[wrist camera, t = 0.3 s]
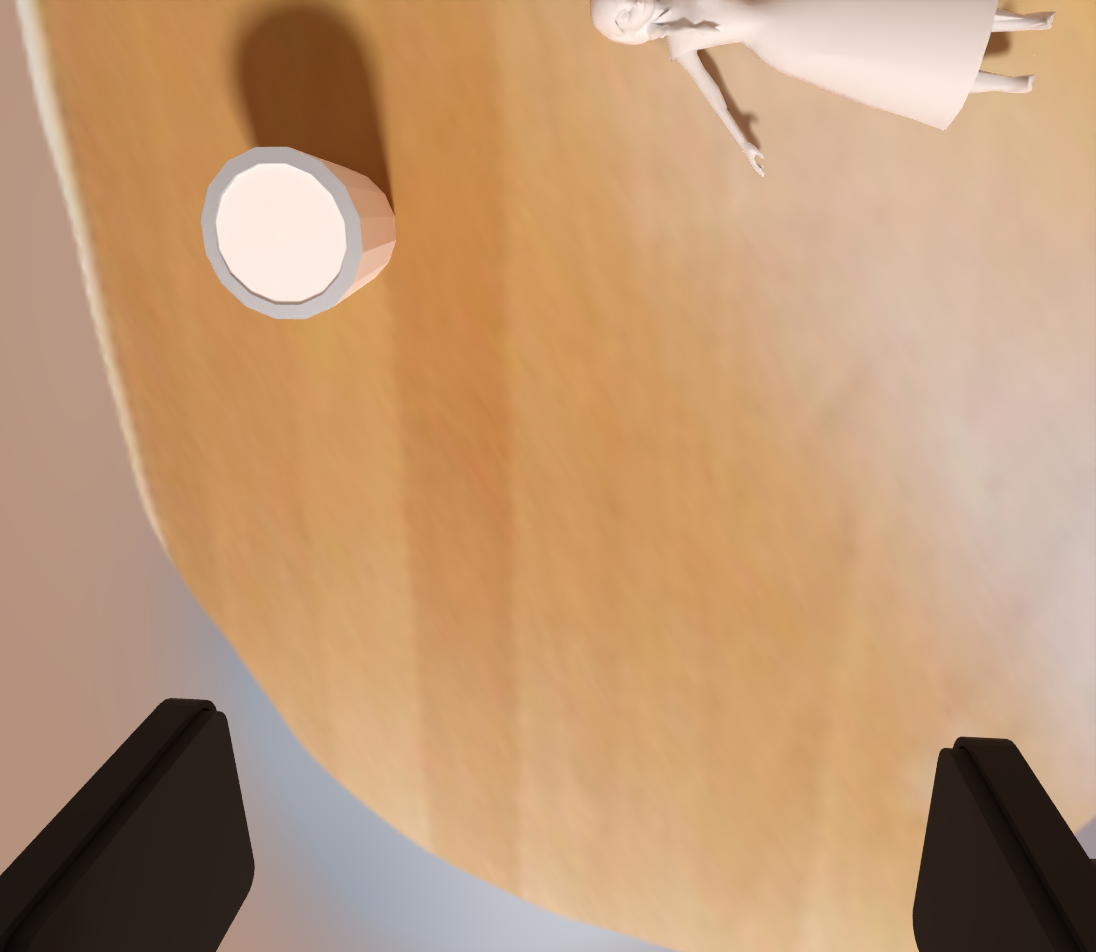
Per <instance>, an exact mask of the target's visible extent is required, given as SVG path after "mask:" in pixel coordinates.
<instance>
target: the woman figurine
mask: <svg viewBox="0 0 1096 952" xmlns="http://www.w3.org/2000/svg"><path fill="white" fill-rule="evenodd" d="M998 1H999V0H751V1H749V0H591V2H590V13H591V19H592V23H593V24H594V26H595V27H596V28H597V30H598V31H599V32H601V33H602V34H603V35H604V36H606V37H607V38H608V39H610V40H612V41H615V42H618V43H622V44H628V45H635V44H642V43H644V42H646V41H648V40H655V39H656V38H658V37H660V38H663V37H665V36H666V41H667V45H668V49H669V53H670V58H671V61H673V60H675V59H676V60H677V61H678V62H679V64H680V65H681V66H682V67H683V68H684V69H685V70H686V71H687V72H688V73H689V74H690V75H691V77H692V78H693V79H694V81H695V82H696V84H697V85H698V87H699V88H700V90H701V91H702V93H703V94H704V96H705V97H706V99H707V100H708V102H709V103H710V105H711V106H712V108H713V109H714V110H715V111H716V113H717V114H718V115H719V117H720V118H721V119H722V121H723V122H724V124H725V125H726V127H727V128H728V130H729V131H730V133H731V134H732V136H733V137H734V139H735V140H736V142H737V144H738V145H739V147H740V148H741V150H742V151H743V152H744V154H745V155H746V157H747V158H748V160H749V161H750V163H751V164H752V166H753V167H754V169H755V170H756V171H757V172H758V173H759V174H760V175H762V176H764V172H763V171H762V170H761V169H760V168H764V166H762V165H758V163H757V162H756V161H755V154H757V155H759V156H760V157H761V158H762V159H763V158H764V155H763V154H762V153H760V152H759V150H758V149H757V148H756V147H755V146H754V145H753V144H751V143H748V142H747V141H746V140H745V138H744V136H743V135H742V133H741V131H740V130H739V128H738V126H737V125H736V123H735V121H734V120H733V118H732V116H731V115H730V113H729V112H728V108H727V105H726V103H725V101H724V98H723V96H722V94H721V91H720V89H719V87H718V85H717V84H716V83H715V82H714V80H713V79H712V78H711V76H710V75H709V74H708V72H707V71H706V70H705V68H704V66H703V65H702V63H701V61H700V59H699V57H698V55H697V50H700V49H705V48H710V47H713V46H717V45H723V44H730V43H736V42H741V43H743V44H744V45H745V46H746V47H748V48H749V49H750V50H751V51H752V52H753V53H754V54H755V55H756V56H757V57H758V58H759V59H760V60H761V61H762V62H763V63H765V64H767V65H769V66H770V67H772V68H774V69H776V70H777V71H779V72H781V73H783V74H786V75H788V76H791V77H793V78H796V79H798V80H801V81H803V82H806V83H809V84H811V85H814V86H816V87H819V88H821V89H824V90H826V91H829V92H831V93H834V94H837V95H839V96H842V97H844V98H847V99H849V100H852V101H854V102H857V103H860V104H862V105H865V106H869V107H873V108H877V109H880V110H884V111H888V112H891V113H895V114H898V115H902V116H905V117H908V118H911V119H914V120H916V121H919V122H922V123H925V124H927V125H930V126H933V127H936V128H938V129H941V130H944V131H945V130H946V128H947V127H948V126H949V124H950V123H951V122H952V120H953V119H954V118H955V116H956V115H957V114H958V112H959V111H960V110H961V108H962V106H963V104H964V102H965V100H966V98H967V96H968V94H969V93H978V92H990V91H1002V92H1007V93H1028V92H1029V91H1031V90H1032V88H1033V85H1034V81H1035V78H1036V75H1027V76H1018V77H1011V76H1003V75H999V74H995V73H990V72H986V71H982V70H979V68H980V65H981V62H982V59H983V56H984V53H985V50H986V47H987V44H988V41H989V38H990V34H991V32H1004V31H1021V30H1047V29H1049V28H1051V26H1052V23H1053V20H1054V17H1055V14H1056V12H1038V13H1031V14H1027V15H1021V14H1018V13H1014V12H1010V11H1006V10H1002V9H999V8H997V5H998ZM759 167H760V168H759Z"/></svg>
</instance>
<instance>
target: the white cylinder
mask: <svg viewBox="0 0 1096 952" xmlns="http://www.w3.org/2000/svg"><path fill="white" fill-rule="evenodd" d="M201 225H202V232H203V239H204V246H205V253H206V255H207V257H208V258H209V260H210V262H211V264H212V266H213V268H214V270H215V272H216V274H217V276H218V278H219V280H220V282H221V283H222V284H223V285H224V286H225V287H226V288H227V289H228V290H229V291H230V292H231V293H232V294H233V295H234V296H235V297H237V298H238V299H239V300H240V301H241V302H242V303H243V304H244V305H245V306H246V307H249V308H251V309H253V310H256V311H258V312H261V313H263V314H265V315H268V316H270V317H272V318H275V319H307V318H309V317H312V316H314V315H316V314H318V313H321V312H323V311H325V310H327V309H330V308H332V307H334V306H335V305H337V304H338V303H340V302H341V301H342V300H344V299H345V298H347V297H348V296H350V295H351V294H352V293H354V292H355V291H357V290H358V289H360V288H361V287H362V286H364V285H365V284H367V283H368V282H370V281H371V280H373V279H374V278H375V277H376V276H377V275H378V274H379V273H380V272H381V270H382V269H383V268H384V267H385V266H386V265H387V264H388V263H389V261H390V258H391V255H392V252H393V249H394V246H395V243H396V226H395V215H394V213H393V211H392V209H391V207H390V204H389V202H388V200H387V198H386V195H385V194H384V193H383V192H382V191H381V190H380V189H379V188H378V187H377V186H376V185H375V184H374V183H373V182H372V181H371V180H370V179H369V177H367V176H365V175H363V174H360V173H358V172H356V171H353V170H351V169H349V168H346V167H344V166H341V165H338V164H335V163H332V162H330V161H327V160H324V159H321V158H318V157H315V156H313V155H310V154H307V153H304V152H301V151H299V150H296V149H293V148H290V147H254V148H253V149H251V150H249V151H247V152H245V153H243V154H241V155H239V156H237V157H235V158H233V159H231V160H229V161H227V162H226V164H225V165H224V166H223V168H222V169H221V170H220V172H219V173H218V174H217V176H216V177H215V178H214V180H213V181H212V182H211V184H210V185H209V186H208V190H207V194H206V198H205V203H204V207H203V211H202V215H201Z"/></svg>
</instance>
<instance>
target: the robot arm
mask: <svg viewBox="0 0 1096 952" xmlns="http://www.w3.org/2000/svg"><path fill="white" fill-rule="evenodd" d="M254 868H255V866H254V858H253V853H252V848H251V842H250V837H249V832H248V826H247V821H246V817H245V811H244V806H243V800H242V795H241V790H240V784H239V779H238V774H237V769H236V763H235V758H234V753H233V748H232V742H231V737H230V732H229V727H228V722H227V718H226V716H225V714H224V713H222V712H220V711H217V710H216V707H215V705H214V704H213V703H212V702H211V701H209V700H199V699H177V698H169V699H166V700H164V701H163V702H162V703H160V704H159V705H158V706H157V707H156V709H155V710H154V711H153V712H152V713H151V714H150V715H149V716H148V717H147V718H146V719H145V720H144V721H143V723H142V724H141V725H140V726H139V727H138V728H137V729H136V730H135V731H134V732H133V733H132V734H131V735H130V737H129V738H128V739H127V740H126V741H125V742H124V743H123V744H122V745H121V746H120V747H119V748H118V749H117V751H116V752H115V753H114V754H113V755H112V756H111V757H110V758H109V759H108V760H107V761H106V763H104V765H103V766H102V767H101V768H100V769H99V770H98V771H97V772H96V773H95V774H94V775H93V776H92V778H91V779H90V780H89V781H88V782H87V783H86V784H85V785H84V786H83V787H82V788H81V789H80V790H79V791H78V793H77V794H76V795H75V796H74V797H73V798H72V799H71V800H70V801H69V802H68V803H67V804H66V806H64V808H63V809H62V810H61V811H60V812H59V813H58V814H57V815H56V816H55V817H54V818H53V819H52V821H51V822H50V823H49V824H48V825H47V826H46V827H45V828H44V829H43V830H42V831H41V832H40V834H39V835H38V836H37V837H36V838H35V839H34V840H33V841H32V842H31V843H30V844H29V845H28V846H27V847H26V849H25V850H24V851H23V852H22V853H21V854H20V855H19V856H18V857H17V858H16V859H15V860H14V861H13V862H12V864H11V865H10V866H9V867H8V868H7V869H6V870H5V871H4V872H3V873H2V874H1V875H0V952H216V950H217V949H218V947H219V945H220V943H221V941H222V940H223V938H224V936H225V934H226V932H227V931H228V929H229V927H230V925H231V923H232V922H233V920H234V918H235V916H236V915H237V913H238V911H239V909H240V907H241V906H242V903H243V902H244V900H245V898H246V897H247V895H248V893H249V891H250V888H251V885H252V881H253V877H254ZM913 929H914V935H915V940H916V944H917V947H918V950H919V952H1096V859H1089V857H1088V856H1087V854H1086V853H1085V851H1084V850H1083V848H1082V846H1081V845H1080V843H1079V842H1078V840H1077V839H1076V837H1075V836H1074V834H1073V833H1072V831H1071V829H1070V828H1069V826H1068V825H1067V823H1066V822H1065V820H1064V819H1063V817H1062V816H1061V814H1060V813H1059V811H1058V809H1057V808H1056V806H1055V805H1054V803H1053V802H1052V800H1051V799H1050V797H1049V796H1048V794H1047V793H1046V791H1045V790H1044V788H1043V786H1042V785H1041V783H1040V782H1039V780H1038V779H1037V777H1036V776H1035V774H1034V773H1033V771H1032V770H1031V768H1030V766H1029V765H1028V763H1027V762H1026V760H1025V759H1024V757H1023V756H1022V754H1021V753H1020V751H1019V750H1018V748H1017V747H1016V745H1015V744H1014V743H1013V742H1012V741H1010V740H1008V739H998V738H978V737H959V738H957V740H956V741H955V743H954V747H953V748H943V749H942V750H941V751H940V753H939V757H938V762H937V768H936V774H935V780H934V786H933V792H932V798H931V804H930V810H929V816H928V822H927V828H926V834H925V840H924V846H923V853H922V859H921V865H920V871H919V877H918V883H917V889H916V895H915V901H914V907H913Z"/></svg>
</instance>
